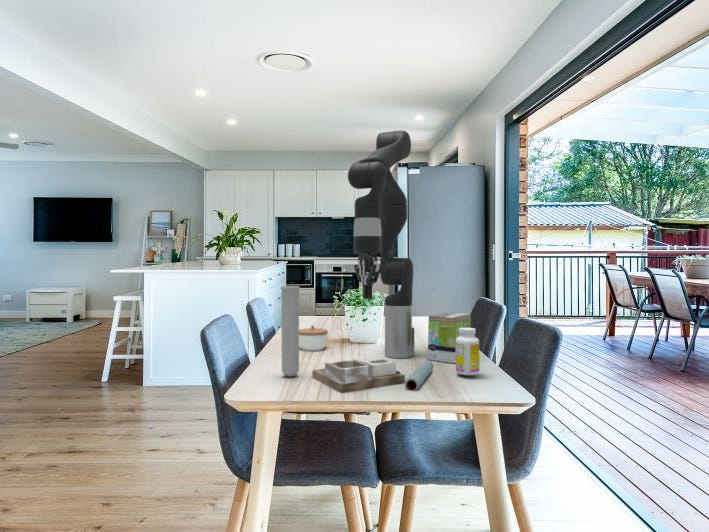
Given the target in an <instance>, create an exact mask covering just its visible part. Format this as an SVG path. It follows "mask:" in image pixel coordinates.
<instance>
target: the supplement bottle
mask: <svg viewBox="0 0 709 532" xmlns="http://www.w3.org/2000/svg"><path fill="white" fill-rule="evenodd" d="M476 332H477V329H476V328H474V327H471V328H459V334H460V336H459V337H457V338H456V363H455V371H456V373H457V374H459V375H462V376H463V375H464V376H476V375H479V374H480V339H479V338H478V337H476Z"/></svg>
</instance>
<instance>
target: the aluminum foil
mask: <svg viewBox="0 0 709 532" xmlns="http://www.w3.org/2000/svg"><path fill="white" fill-rule="evenodd" d="M433 369H434V364H433V362H431V360H424V361H423V362H422V363H421V364H420V365H419V366H418V367H417V369H415V370H414V372H413V373H412V374H411V375H410V376H409V377H408V378H407V379H405V383H404V386H405V389H406V390H407V391H418V389H419V388H420V387H421V385H422V384H423V383H424V382H425V380H426V378H427V377H428V376H429V375H430V374H431V373H432V371H433Z"/></svg>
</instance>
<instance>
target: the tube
mask: <svg viewBox="0 0 709 532" xmlns="http://www.w3.org/2000/svg"><path fill="white" fill-rule="evenodd" d="M280 289H281V372H282V374H283V376H286V377H293V376H297V375H298V374H299V371H300V345H299V330H300V289H301V287H300V286H296V285H295V286H293V285H291V286H290V285H289V286H287V285H286V286H280Z"/></svg>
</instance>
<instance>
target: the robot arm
mask: <svg viewBox="0 0 709 532" xmlns="http://www.w3.org/2000/svg"><path fill="white" fill-rule="evenodd" d="M375 142H376V143H375V145H376V146H375V150H374V151H372V153H370V155H368V156H367V157H365V158H363V159H359V160H358V161H355V162H354V163H352V165H351V166H350V167H349V169H348V173H347V179H348V184H350V186H351V187H352V188H354V189H357V190H364V189H366V190H367V189H370V190H369V192H368V193H367V194H366V195H362V196H360V197H357V198H356V199H355V201H354V223H353V252H354V253H355V254H358V258H357V264H354V265H353V268H354V272H355V275H356V278H357V280H358V283H361V285H362V299H365V300H371V299H373V286H374V284H375V283H376V284H377V282H378V279H379V277H380V279H381V280H380V281H381V283H382V284H383V285H386V286H400V289H399V290H398V291H397V292H395V293H393V294H390V295H387V296H385V297H384V356H385V357H387V358H392V359H393V358H394V359H406V358H411V357H413V356H415V327H413V284H414V283H413V282H414V281H413V280H414V264H413V261H412V259H410V258H408V257H393V255H392V254H393V248H394V245H395V243H396V240H397V238H398V237H399V236H400V234H401V231H402V230H403V228H404V226H405V225H406V222H407V219H408V203H407V202H408V200H407V196H406V194H405V193H404V192H403V190H402V188H401V187H400V185H399V184H398V183H397V181H396V179H395V178H394V176H393V173H392V171H391V168H392V167H393V166H395V165H396V164H397V163H399V162H401V161H402V160H405V159H407V158H408V157H409V156H410V155H411V151H412V141H411V136H410V134H409V132H408V131H405V130H393V131H391V130H390V131H384V132H379V134H377V136H376V141H375ZM378 253H380V259H379V260H380V262H379V263H378V255H377V254H378Z"/></svg>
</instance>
